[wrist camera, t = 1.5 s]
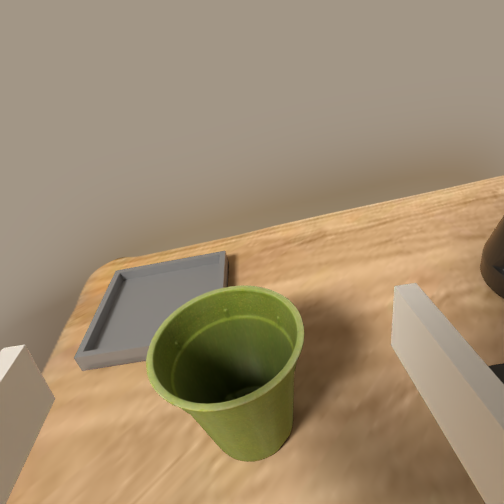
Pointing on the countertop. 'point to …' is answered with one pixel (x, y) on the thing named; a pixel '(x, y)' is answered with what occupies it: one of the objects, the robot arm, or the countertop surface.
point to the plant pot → (231, 366)
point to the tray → (145, 307)
